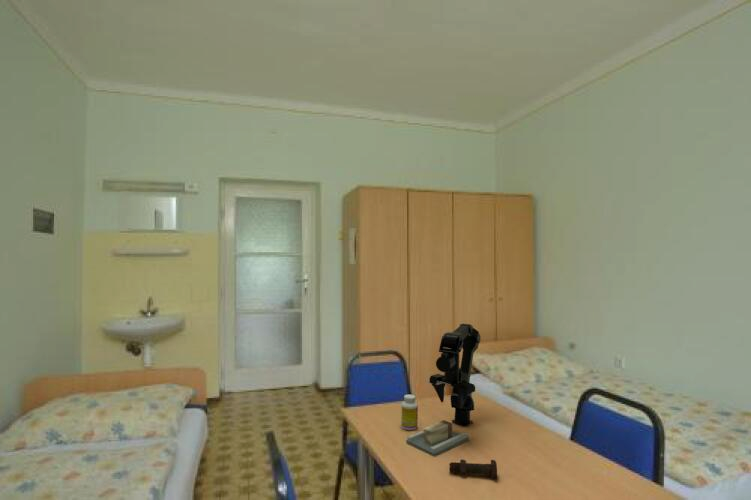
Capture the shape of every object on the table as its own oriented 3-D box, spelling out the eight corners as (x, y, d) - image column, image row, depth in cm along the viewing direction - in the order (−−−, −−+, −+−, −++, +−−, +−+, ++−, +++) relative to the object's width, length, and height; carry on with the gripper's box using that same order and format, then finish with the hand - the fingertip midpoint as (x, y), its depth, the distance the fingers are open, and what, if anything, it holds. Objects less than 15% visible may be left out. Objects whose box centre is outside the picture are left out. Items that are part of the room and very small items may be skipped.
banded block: (423, 441, 160) (423, 428, 160) (443, 432, 168) (444, 419, 168) (431, 445, 157) (431, 431, 157) (452, 436, 165) (452, 423, 165)
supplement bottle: (418, 431, 172) (418, 399, 172) (401, 430, 172) (402, 399, 172) (416, 424, 178) (417, 393, 178) (401, 423, 179) (401, 393, 179)
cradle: (440, 428, 174) (440, 422, 174) (468, 440, 164) (468, 433, 164) (406, 442, 161) (406, 436, 161) (434, 456, 151) (434, 449, 151)
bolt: (449, 477, 141) (496, 480, 138) (449, 476, 136) (497, 479, 134) (449, 457, 144) (495, 460, 141) (449, 456, 139) (496, 459, 137)
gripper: (483, 367, 166) (483, 407, 166) (446, 357, 180) (445, 394, 180) (466, 372, 159) (466, 414, 159) (428, 362, 173) (428, 400, 173)
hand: (451, 405), depth 168 cm, fingers open, 9 cm apart
